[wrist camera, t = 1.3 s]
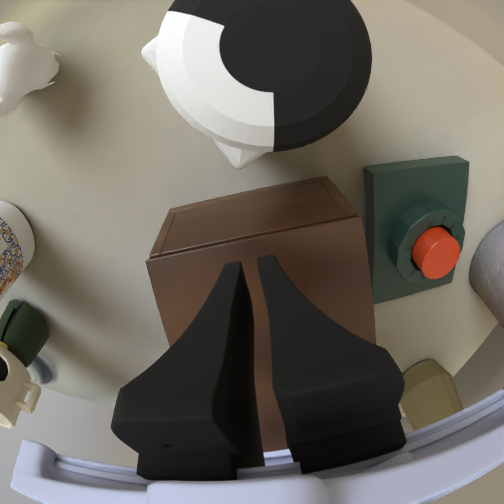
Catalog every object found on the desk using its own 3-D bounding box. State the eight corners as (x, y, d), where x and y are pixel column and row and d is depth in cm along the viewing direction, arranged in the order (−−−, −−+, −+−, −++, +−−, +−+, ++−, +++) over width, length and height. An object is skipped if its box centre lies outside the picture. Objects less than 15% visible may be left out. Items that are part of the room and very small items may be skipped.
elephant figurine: (65, 113, 16) (15, 131, 11) (-6, 107, 15) (-56, 124, 10) (86, 24, 13) (38, 13, 8) (8, 28, 12) (-42, 29, 7)
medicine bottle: (264, -1, 14) (300, -93, 3) (327, 84, 17) (437, 101, 7) (170, 60, 16) (80, 40, 5) (237, 142, 19) (237, 226, 9)
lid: (374, 424, 17) (376, 429, 16) (213, 451, 18) (212, 456, 17) (358, 215, 15) (362, 216, 14) (148, 258, 16) (144, 260, 15)
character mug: (62, 305, 26) (12, 412, 15) (73, 349, 29) (39, 444, 18) (-11, 283, 24) (-66, 366, 13) (5, 326, 28) (-36, 405, 17)
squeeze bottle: (428, 381, 37) (466, 477, 22) (385, 392, 37) (418, 499, 22) (450, 348, 33) (501, 454, 18) (404, 359, 33) (452, 481, 18)
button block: (443, 272, 26) (460, 294, 23) (364, 293, 26) (377, 319, 23) (457, 155, 19) (483, 169, 16) (363, 166, 20) (383, 182, 17)
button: (445, 261, 21) (455, 273, 20) (409, 270, 21) (419, 284, 20) (451, 222, 19) (463, 233, 18) (413, 230, 19) (425, 243, 18)
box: (336, 313, 27) (354, 364, 22) (218, 335, 28) (216, 389, 23) (326, 175, 20) (358, 213, 15) (169, 209, 21) (148, 256, 16)
